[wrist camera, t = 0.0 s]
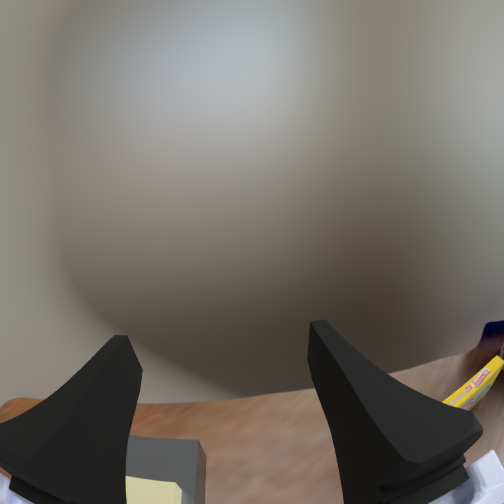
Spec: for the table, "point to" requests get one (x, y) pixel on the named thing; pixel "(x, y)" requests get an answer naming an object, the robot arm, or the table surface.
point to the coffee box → (502, 355)
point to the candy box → (476, 387)
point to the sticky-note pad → (152, 491)
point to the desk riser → (169, 464)
